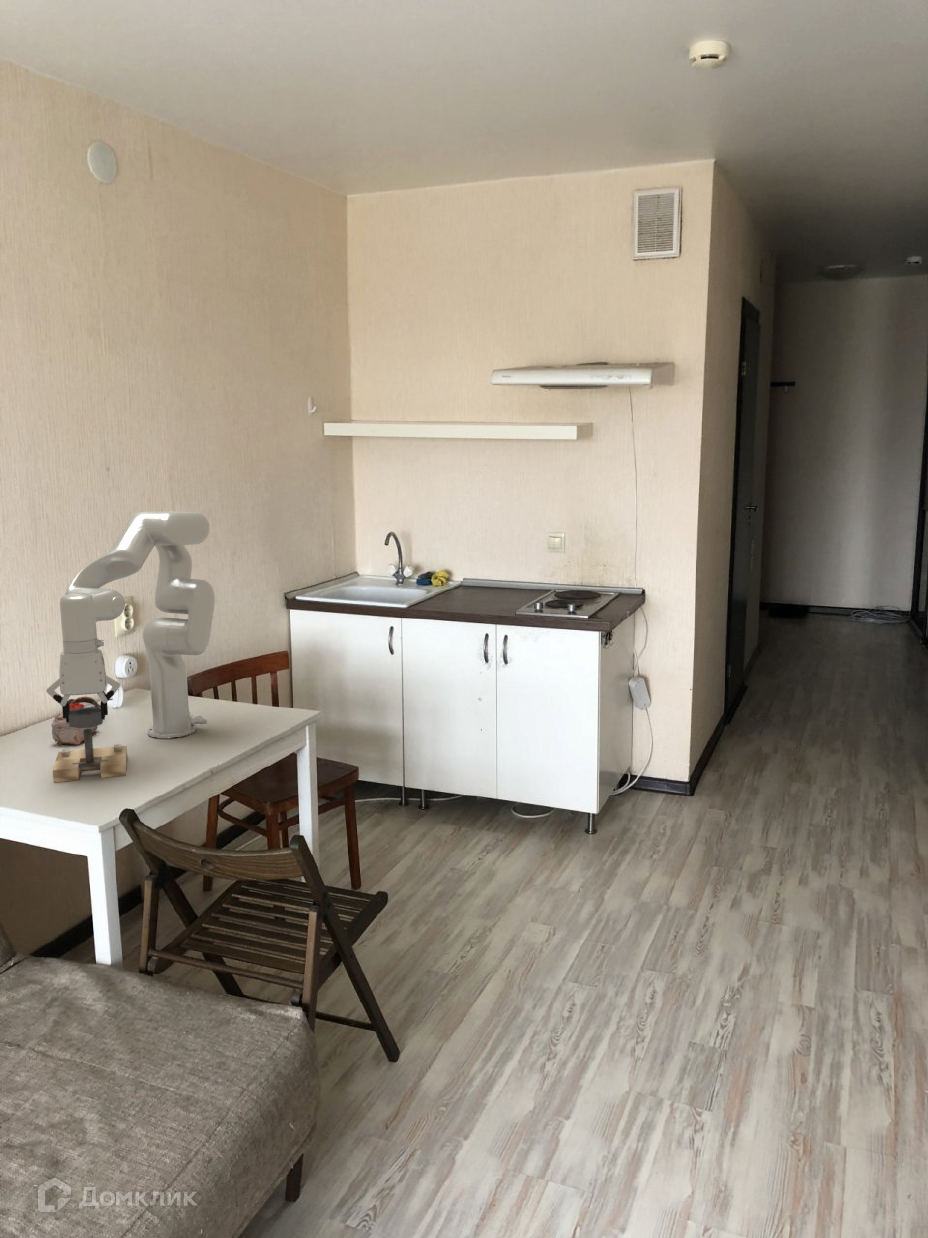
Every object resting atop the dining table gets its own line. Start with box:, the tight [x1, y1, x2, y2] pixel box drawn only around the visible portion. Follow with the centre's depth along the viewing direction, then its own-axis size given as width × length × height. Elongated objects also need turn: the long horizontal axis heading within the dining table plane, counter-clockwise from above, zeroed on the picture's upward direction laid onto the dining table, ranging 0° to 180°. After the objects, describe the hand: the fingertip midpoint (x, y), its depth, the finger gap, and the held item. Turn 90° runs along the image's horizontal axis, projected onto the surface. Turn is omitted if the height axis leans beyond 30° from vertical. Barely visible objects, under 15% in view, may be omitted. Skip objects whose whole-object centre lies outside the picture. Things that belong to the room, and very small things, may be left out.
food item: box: [51, 702, 98, 746], centre depth 263 cm, size 14×8×10 cm, turn 179°
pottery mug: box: [68, 696, 101, 708], centre depth 278 cm, size 12×10×8 cm
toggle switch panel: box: [52, 729, 128, 783], centre depth 239 cm, size 16×14×11 cm
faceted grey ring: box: [68, 707, 104, 728], centre depth 234 cm, size 7×7×3 cm
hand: (85, 719), depth 234 cm, fingers closed on faceted grey ring, 7 cm apart
